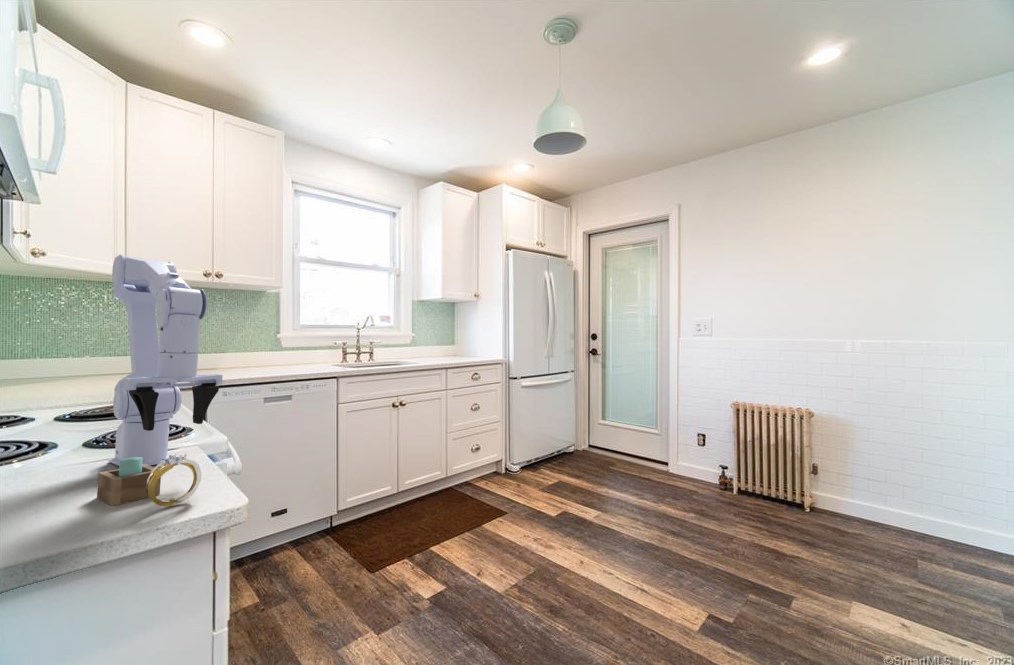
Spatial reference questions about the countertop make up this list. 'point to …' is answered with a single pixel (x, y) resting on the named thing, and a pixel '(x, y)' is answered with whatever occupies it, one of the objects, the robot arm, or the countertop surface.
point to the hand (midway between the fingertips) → (174, 426)
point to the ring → (170, 463)
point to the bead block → (124, 486)
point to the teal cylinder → (130, 466)
